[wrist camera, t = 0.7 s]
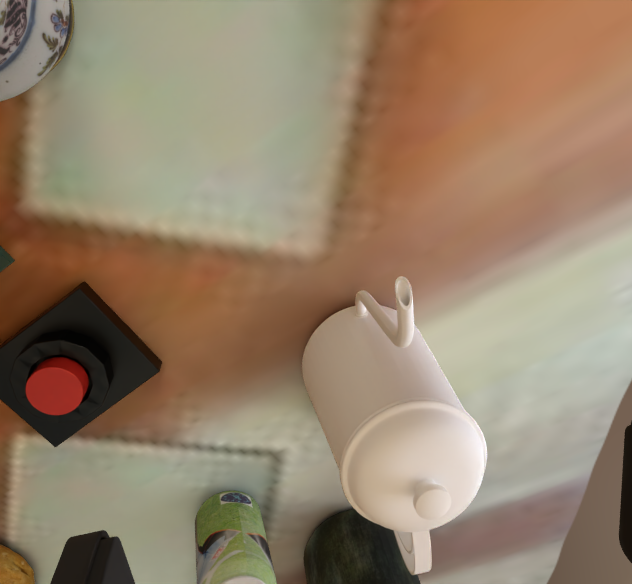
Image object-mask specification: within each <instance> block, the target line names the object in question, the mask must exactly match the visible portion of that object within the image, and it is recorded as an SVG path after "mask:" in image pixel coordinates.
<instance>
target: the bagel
mask: <svg viewBox="0 0 632 584" xmlns="http://www.w3.org/2000/svg"><path fill="white" fill-rule="evenodd" d="M0 584H35V581H34V572H33V569H32V568H31V567H30V566H29V565H28V563H27V562H26V561H25V559H24V558H23V557H21V556H20V555H19V554H18V553H15V552H13V551H12V550H11V549H10V548H7V547H5V546H2V545H0Z"/></svg>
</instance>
